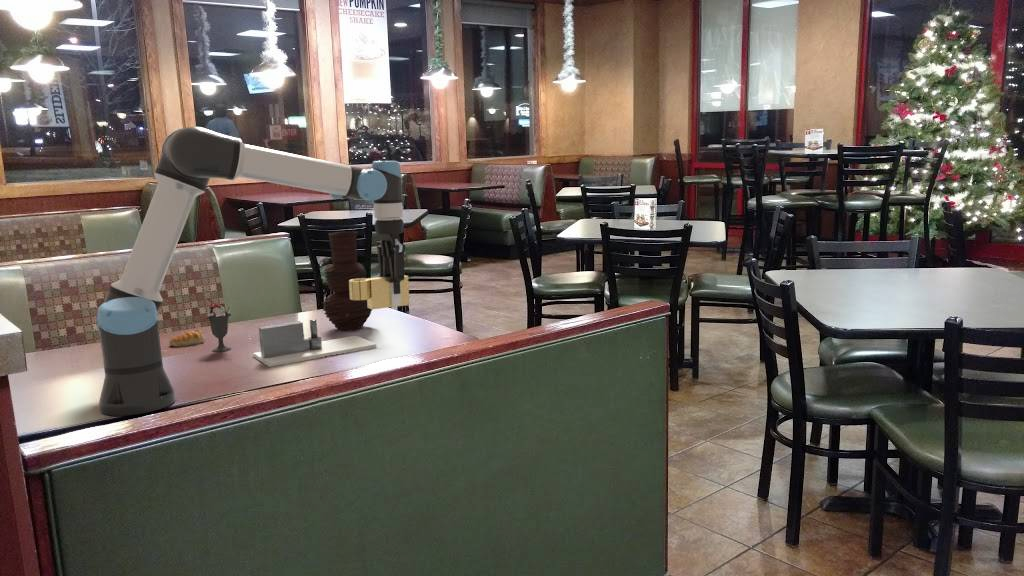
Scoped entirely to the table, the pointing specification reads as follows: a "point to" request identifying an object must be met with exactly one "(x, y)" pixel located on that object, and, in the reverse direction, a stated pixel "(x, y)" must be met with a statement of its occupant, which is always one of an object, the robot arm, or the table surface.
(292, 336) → the grey upright slab
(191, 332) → the pastry
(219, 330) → the sundae
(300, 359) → the jig board
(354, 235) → the vase
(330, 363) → the table surface
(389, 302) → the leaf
